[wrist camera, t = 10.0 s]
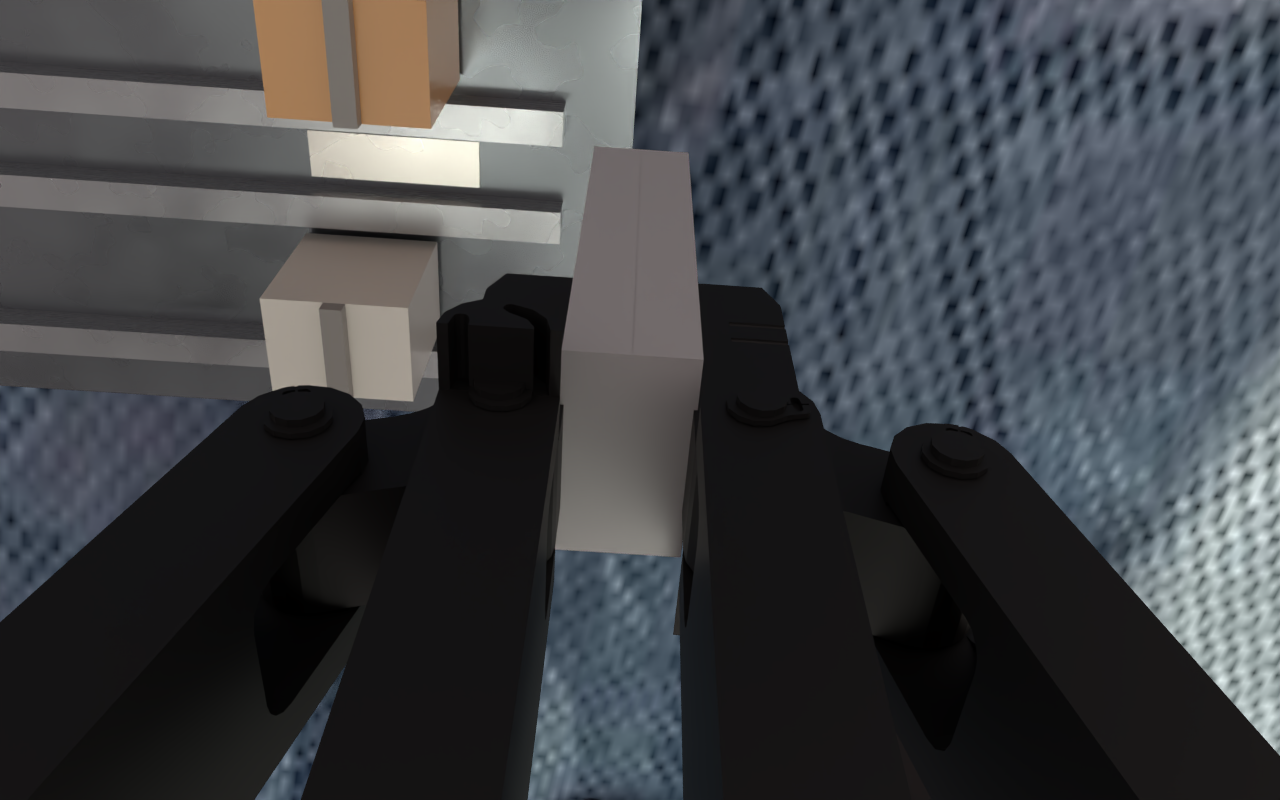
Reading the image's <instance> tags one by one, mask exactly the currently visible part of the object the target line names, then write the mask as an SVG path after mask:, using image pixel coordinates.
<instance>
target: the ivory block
mask: <svg viewBox="0 0 1280 800" xmlns="http://www.w3.org/2000/svg"><path fill="white" fill-rule="evenodd" d="M260 305H261V313H262V320H263V327H264V334H265V341H266V348H267V356H268V363H269V370H270V377H271V384H272V391H274V390H278V389H280V388H284V387H290V386H295V387H296V386H298V385H312V386H321V387H331V388H334V389H337V390H340V391H342V392H345V393H348V394H350V395H351V396H353V397H354V398H365V399H380V400H396V401H412V402H413V401H414V398H415V395H416V393H417V390H418V387H419V385H420V382H421V379H422V376H423V374H424V371H425V368H426V366H427V363H428V360H429V357H430V355H431V352H432V349H433V346H434V344H435V341H436V338H437V335H436V322H437V321H438V320H439V318H440V304H439V277H438V251H437V242H433V241H418V240H403V239H388V238H374V237H359V236H344V235H329V234H314V233H306V234H305V236H304V237H303V239H302V240H301V241H300V243H299V244H298V246H297V247H296V248H295V250H294V251H293V253H292V254H291V255H290V257H289V258H288V259H287V261H286V262H285V264H284V265H283V266H282V268H281V269H280V271H279V272H278V273H277V275H276V276H275V278H274V279H273V280H272V282H271V283H270V285H269V286H268V287H267V289H266V290H265V291H264V293H263V294H262V296H261V297H260Z"/></svg>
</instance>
